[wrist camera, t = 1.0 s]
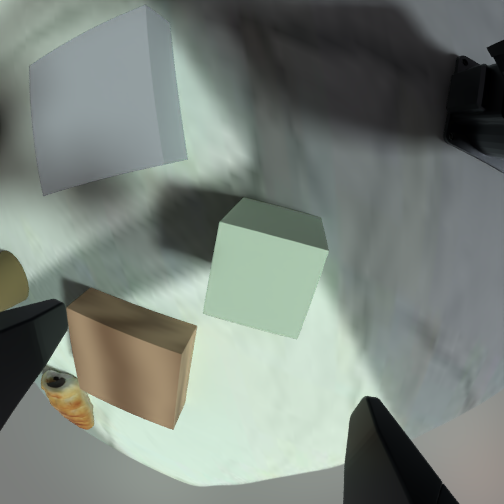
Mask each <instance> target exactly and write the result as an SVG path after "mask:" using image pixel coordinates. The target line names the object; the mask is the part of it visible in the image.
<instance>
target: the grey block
mask: <svg viewBox="0 0 504 504" xmlns="http://www.w3.org/2000/svg"><path fill="white" fill-rule="evenodd" d="M29 79H30V103H31V117H32V127H33V136H34V144H35V152H36V159H37V165H38V171H39V177H40V182H41V187H42V192H43V196H45V195H48V194H51V193H55V192H58V191H61V190H64V189H68V188H71V187H75V186H78V185H82V184H85V183H89V182H93V181H96V180H100V179H104V178H108V177H112V176H116V175H120V174H124V173H128V172H133V171H137V170H141V169H146V168H150V167H155V166H160V165H165V164H169V163H174V162H178V161H183V160H188V156H187V150H186V144H185V137H184V131H183V124H182V117H181V110H180V103H179V95H178V88H177V80H176V72H175V64H174V56H173V47H172V38H171V28H170V22H169V21H167V20H166V19H165V18H163V17H162V16H161V15H159V14H158V13H157V12H155V11H154V10H152V9H151V8H150V7H148V6H147V5H143V6H141V7H138V8H136V9H133V10H131V11H128V12H126V13H124V14H121V15H119V16H117V17H115V18H112V19H110V20H108V21H106V22H104V23H102V24H100V25H98V26H96V27H94V28H92V29H90V30H88V31H86V32H84V33H82V34H80V35H79V36H77V37H75V38H73V39H71V40H70V41H68V42H66V43H64V44H63V45H61V46H59V47H58V48H56V49H54V50H53V51H51V52H50V53H48V54H46V55H45V56H43V57H42V58H40V59H39V60H37V61H36V62H34V63H33V64H31V65H30V66H29Z"/></svg>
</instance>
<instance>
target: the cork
mask: <svg viewBox="0 0 504 504" xmlns="http://www.w3.org/2000/svg"><path fill="white" fill-rule="evenodd" d="M28 292H29V287H28V281H27V278H26V274H25V272H24V270H23V268H22V266H21V264H20V263H19V261H18V260H17V258H16V257H15V256H14V255H13V254H12V253H10V252H8V251H2V252H0V312H2V311H4V310H6V309H8V308H10V307H12V306H14V305H16V304H18V303H20V302H22V301H24V300H26V299H27V297H28Z"/></svg>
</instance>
